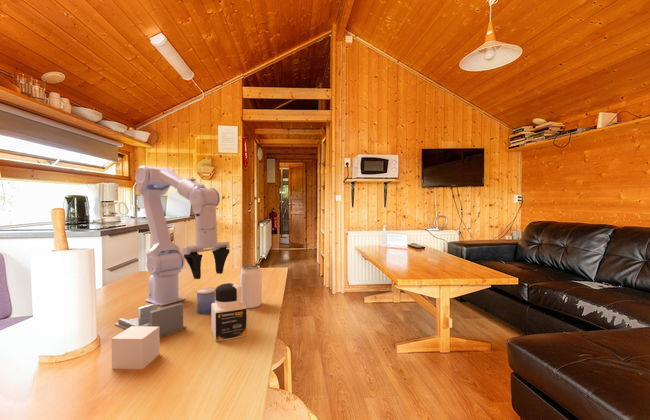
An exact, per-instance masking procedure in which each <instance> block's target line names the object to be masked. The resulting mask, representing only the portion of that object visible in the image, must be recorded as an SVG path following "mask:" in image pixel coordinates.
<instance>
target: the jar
mask: <svg viewBox="0 0 650 420" xmlns="http://www.w3.org/2000/svg"><path fill="white" fill-rule="evenodd" d="M215 289H216V288H215V287H202V288H199V289H196V299H197V300H196V304H197V305H196V308H197V309H196V311H197V312H196V313H197V315H210V314H211V304H212V303H216V296H215Z"/></svg>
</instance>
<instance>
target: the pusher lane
mask: <svg viewBox="0 0 650 420" xmlns="http://www.w3.org/2000/svg"><path fill="white" fill-rule="evenodd" d="M149 317H150V323H147V324H144V325H141V326H147V327H159V339H160V338H163V337H165V336H168V335H171V334H174V333H176V332H179V331H181V330H184V329H187V326H186V325H184V303H182V302H179V303H175V304H172V305H169V306H165V307H164V306H163V307H161V308H158V309H157V310H154V311H150V312H149ZM117 319H118V322H116V323H115V324H114V325H115V326H116V327H119V328H121V329H123V330H124V331H125V330H126V329H128V328H130V327H131V326H140V325H138V316H137V317H133V318H131V319H125V318H122V317H121V318H120V317H119V318H117Z"/></svg>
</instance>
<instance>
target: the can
mask: <svg viewBox="0 0 650 420" xmlns="http://www.w3.org/2000/svg"><path fill="white" fill-rule="evenodd" d="M239 274H240V276H239V280H240V282H239V285H240V286H241V301H242V303H243V304H244V305H245V306H246V309H247V310H249V309H256V308H260V306H261V305H262V300H263V299H262V297H263V295H262V294H263V292H262V290H263V288H262V287H263V284H262V283H263V282H262V281H263V280H262V278H263V277H262V276H263V275H262V274H263V273H262V270H261V266H260V265H256V264H255V265H253V264H250V265H243V266H242V267H241V270H240V273H239Z"/></svg>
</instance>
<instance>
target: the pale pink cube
mask: <svg viewBox="0 0 650 420" xmlns="http://www.w3.org/2000/svg"><path fill="white" fill-rule="evenodd" d="M160 342H161V340H160V338H159V327H147V326H131V327H130V328H128V329H126V330H125V329H124V330H123V331H122V332H120V333H118V334H117V335H115V336H113V337H112V338H111V370H112V369H113V370H144V369H145V368H146V367H147V366H148V365H150V364H151V362H153V361H154V360H155V359H156V358H157V357H158V356H160V354H161V353H160V351H161V350H160V347H161V346H160Z"/></svg>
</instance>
